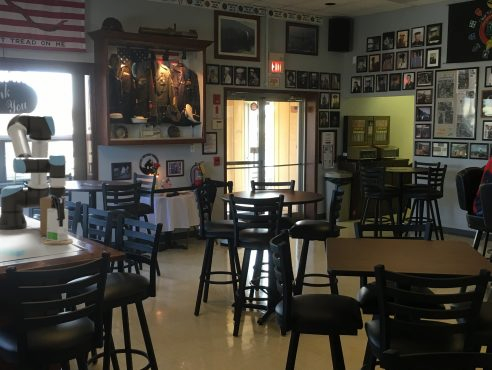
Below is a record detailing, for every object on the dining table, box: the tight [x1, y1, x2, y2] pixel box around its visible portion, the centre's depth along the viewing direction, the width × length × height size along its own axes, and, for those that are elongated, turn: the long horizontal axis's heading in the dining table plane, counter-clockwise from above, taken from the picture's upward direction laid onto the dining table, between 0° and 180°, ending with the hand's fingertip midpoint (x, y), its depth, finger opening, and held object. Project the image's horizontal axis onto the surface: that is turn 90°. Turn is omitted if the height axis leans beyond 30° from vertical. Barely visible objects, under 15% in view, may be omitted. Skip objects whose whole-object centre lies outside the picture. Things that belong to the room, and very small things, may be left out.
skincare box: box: [46, 208, 69, 242], centre depth 274 cm, size 8×7×16 cm
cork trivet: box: [42, 237, 74, 246], centre depth 275 cm, size 14×14×1 cm
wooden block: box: [39, 196, 66, 237], centre depth 293 cm, size 10×10×20 cm
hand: (57, 231), depth 274 cm, fingers open, 10 cm apart
